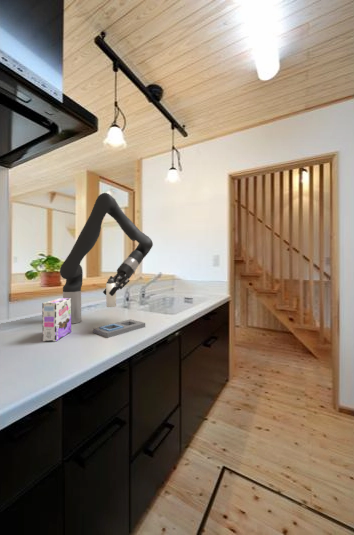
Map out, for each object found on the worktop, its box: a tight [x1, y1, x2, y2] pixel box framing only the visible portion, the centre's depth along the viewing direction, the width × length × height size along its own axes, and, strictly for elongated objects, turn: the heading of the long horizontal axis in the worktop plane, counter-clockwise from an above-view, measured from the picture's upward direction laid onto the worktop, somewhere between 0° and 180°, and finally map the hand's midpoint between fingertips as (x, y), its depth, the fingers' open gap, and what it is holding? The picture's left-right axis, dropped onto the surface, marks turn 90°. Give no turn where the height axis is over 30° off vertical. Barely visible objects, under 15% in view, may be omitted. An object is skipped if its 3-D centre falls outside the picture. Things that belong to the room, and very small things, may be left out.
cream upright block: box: [105, 278, 117, 308], centre depth 107 cm, size 4×4×13 cm
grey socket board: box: [92, 319, 146, 339], centre depth 111 cm, size 12×22×2 cm, turn 140°
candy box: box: [41, 297, 72, 342], centre depth 101 cm, size 14×6×16 cm, turn 179°
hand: (107, 294), depth 106 cm, fingers closed on cream upright block, 4 cm apart
